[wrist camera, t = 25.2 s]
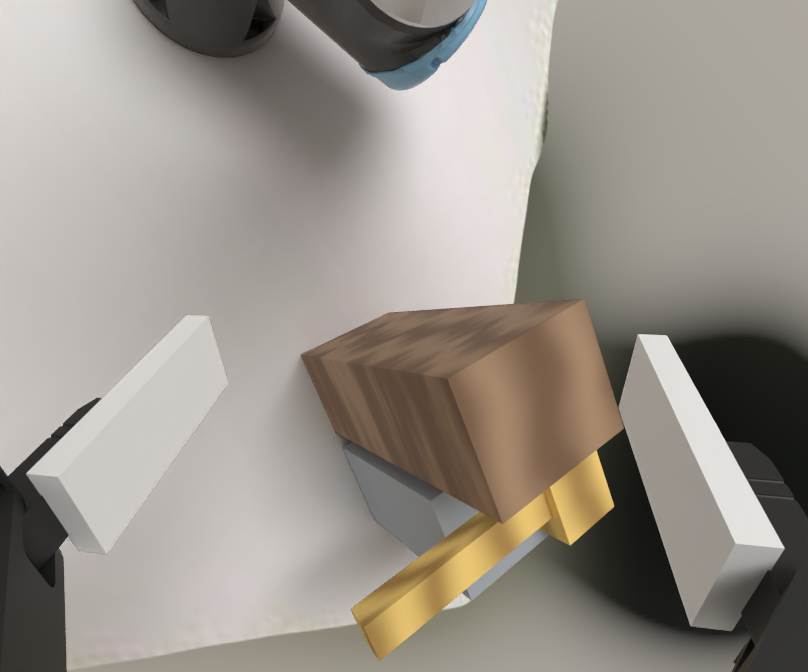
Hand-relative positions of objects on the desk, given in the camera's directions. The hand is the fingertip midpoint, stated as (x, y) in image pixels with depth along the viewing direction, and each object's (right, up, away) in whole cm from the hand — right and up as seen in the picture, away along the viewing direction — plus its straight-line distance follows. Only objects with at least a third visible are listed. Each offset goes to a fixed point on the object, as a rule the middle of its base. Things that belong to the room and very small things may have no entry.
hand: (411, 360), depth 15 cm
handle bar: (+6, -16, +26) cm, 31 cm away
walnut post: (-5, -3, +43) cm, 43 cm away
